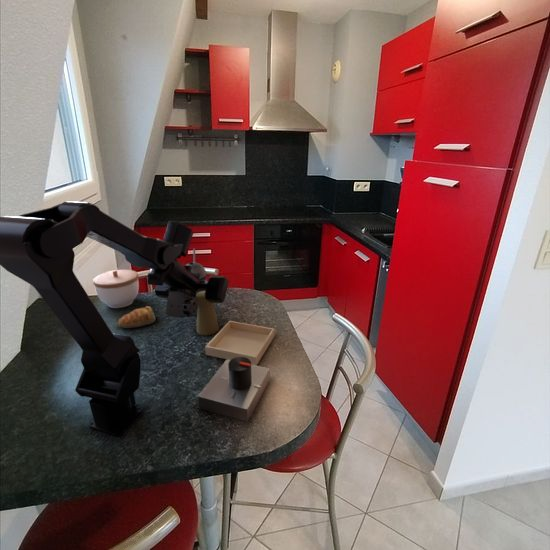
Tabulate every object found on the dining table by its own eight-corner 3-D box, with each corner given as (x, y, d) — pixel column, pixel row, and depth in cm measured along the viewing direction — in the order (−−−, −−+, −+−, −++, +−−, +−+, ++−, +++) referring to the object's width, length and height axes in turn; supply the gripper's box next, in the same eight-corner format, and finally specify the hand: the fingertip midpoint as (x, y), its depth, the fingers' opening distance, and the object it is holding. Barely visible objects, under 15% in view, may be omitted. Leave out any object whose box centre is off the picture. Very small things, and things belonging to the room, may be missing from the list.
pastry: (122, 333, 86) (120, 320, 84) (116, 323, 90) (113, 311, 89) (157, 322, 91) (155, 310, 90) (149, 313, 96) (147, 301, 95)
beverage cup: (198, 303, 102) (192, 242, 94) (214, 310, 98) (210, 247, 90) (179, 312, 96) (172, 248, 89) (196, 319, 92) (189, 253, 85)
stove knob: (225, 387, 62) (224, 366, 60) (235, 373, 66) (234, 353, 64) (246, 392, 61) (245, 371, 59) (255, 377, 65) (254, 357, 63)
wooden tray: (256, 365, 73) (256, 357, 72) (205, 354, 77) (205, 346, 76) (274, 336, 84) (274, 328, 84) (229, 327, 88) (229, 320, 87)
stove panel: (249, 422, 58) (248, 409, 57) (199, 408, 61) (197, 395, 60) (271, 380, 69) (271, 368, 67) (227, 370, 72) (226, 358, 70)
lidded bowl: (149, 296, 107) (145, 265, 103) (126, 314, 95) (119, 280, 91) (116, 293, 109) (110, 262, 105) (89, 310, 98) (81, 276, 94)
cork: (222, 325, 90) (219, 289, 86) (213, 336, 84) (210, 298, 80) (202, 322, 91) (198, 287, 87) (192, 333, 85) (188, 296, 81)
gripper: (129, 304, 73) (168, 324, 86) (200, 312, 66) (231, 332, 80) (145, 261, 77) (180, 286, 90) (214, 264, 71) (240, 290, 84)
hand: (206, 299), depth 86 cm, fingers open, 9 cm apart
